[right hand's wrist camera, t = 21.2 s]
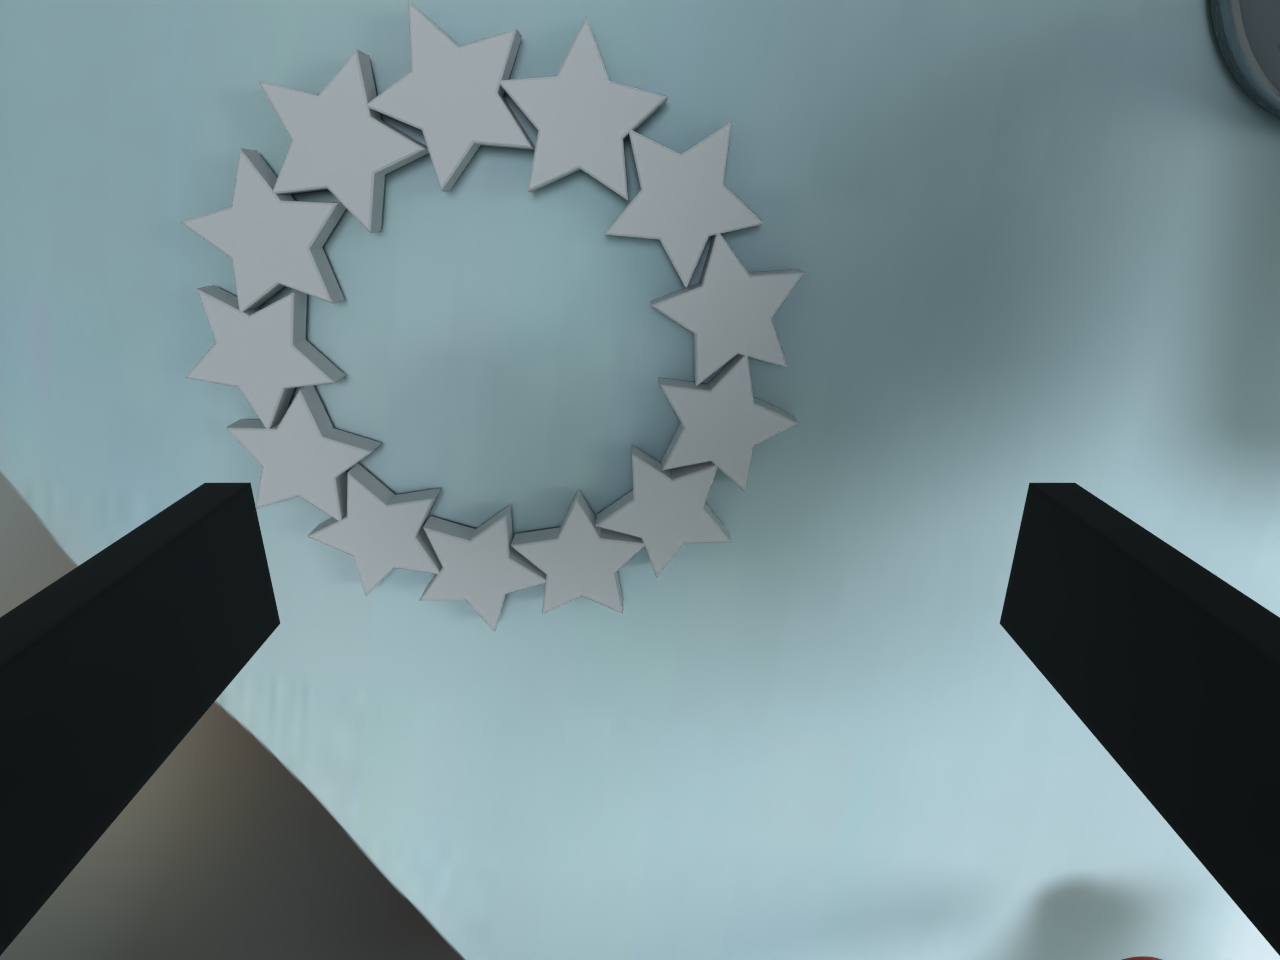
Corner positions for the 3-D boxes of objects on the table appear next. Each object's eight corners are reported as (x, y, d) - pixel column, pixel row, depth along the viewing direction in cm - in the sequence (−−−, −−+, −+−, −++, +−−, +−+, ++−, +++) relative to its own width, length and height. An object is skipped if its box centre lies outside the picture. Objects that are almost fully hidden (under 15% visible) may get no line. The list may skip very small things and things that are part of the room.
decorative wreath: (71, 153, 33) (370, 674, 43) (44, 151, 31) (360, 691, 42) (702, -109, 29) (863, 527, 40) (706, -126, 28) (872, 540, 38)
